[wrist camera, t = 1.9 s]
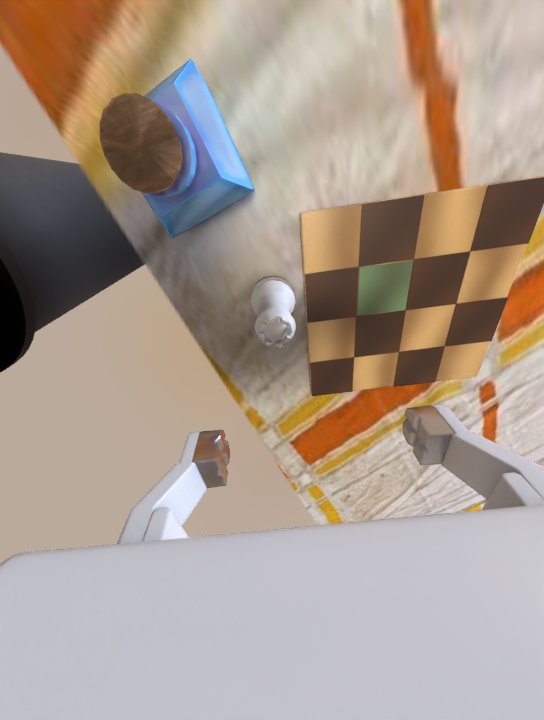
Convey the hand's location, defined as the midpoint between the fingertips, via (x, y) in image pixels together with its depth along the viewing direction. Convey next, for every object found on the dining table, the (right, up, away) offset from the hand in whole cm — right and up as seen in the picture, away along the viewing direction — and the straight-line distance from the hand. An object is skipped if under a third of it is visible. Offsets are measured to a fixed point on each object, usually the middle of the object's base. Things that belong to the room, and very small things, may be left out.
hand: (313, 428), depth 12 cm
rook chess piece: (-2, +10, +15) cm, 18 cm away
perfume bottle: (-7, +18, +9) cm, 22 cm away
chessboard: (+12, +9, +16) cm, 21 cm away
